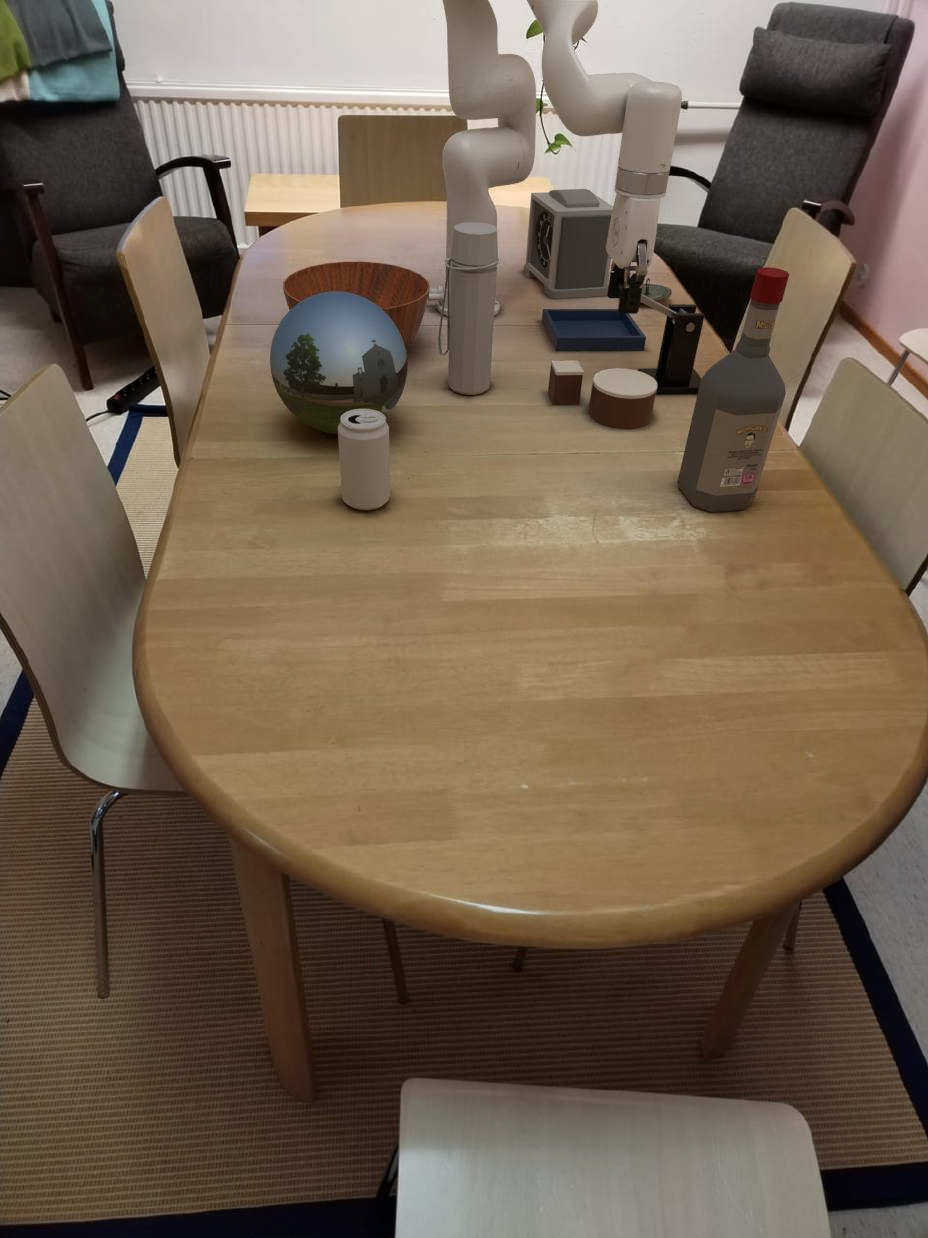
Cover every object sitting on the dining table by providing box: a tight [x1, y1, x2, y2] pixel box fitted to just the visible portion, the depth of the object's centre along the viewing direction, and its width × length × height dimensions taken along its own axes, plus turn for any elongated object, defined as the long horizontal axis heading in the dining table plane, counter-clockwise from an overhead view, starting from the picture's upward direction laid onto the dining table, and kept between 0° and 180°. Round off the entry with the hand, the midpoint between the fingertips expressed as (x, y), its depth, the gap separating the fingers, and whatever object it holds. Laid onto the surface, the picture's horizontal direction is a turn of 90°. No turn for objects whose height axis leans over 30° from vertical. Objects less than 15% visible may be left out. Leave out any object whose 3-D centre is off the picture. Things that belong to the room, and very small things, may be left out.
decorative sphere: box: [269, 291, 408, 435], centre depth 122 cm, size 20×20×20 cm
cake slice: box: [547, 360, 584, 406], centre depth 137 cm, size 4×4×6 cm
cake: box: [588, 367, 657, 430], centre depth 134 cm, size 10×10×6 cm
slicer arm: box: [616, 278, 688, 324], centre depth 136 cm, size 14×6×2 cm, turn 96°
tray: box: [541, 308, 647, 352], centre depth 160 cm, size 17×15×2 cm
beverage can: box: [337, 409, 391, 511], centre depth 109 cm, size 6×6×12 cm
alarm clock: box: [523, 188, 614, 300], centre depth 178 cm, size 18×13×18 cm
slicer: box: [637, 303, 706, 396], centre depth 141 cm, size 10×8×13 cm
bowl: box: [282, 261, 431, 352], centre depth 148 cm, size 25×25×11 cm
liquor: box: [677, 266, 790, 513], centre depth 108 cm, size 9×9×30 cm
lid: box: [640, 277, 673, 304], centre depth 176 cm, size 11×10×5 cm
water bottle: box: [437, 222, 500, 396], centre depth 133 cm, size 9×8×25 cm
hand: (622, 304), depth 135 cm, fingers open, 6 cm apart
